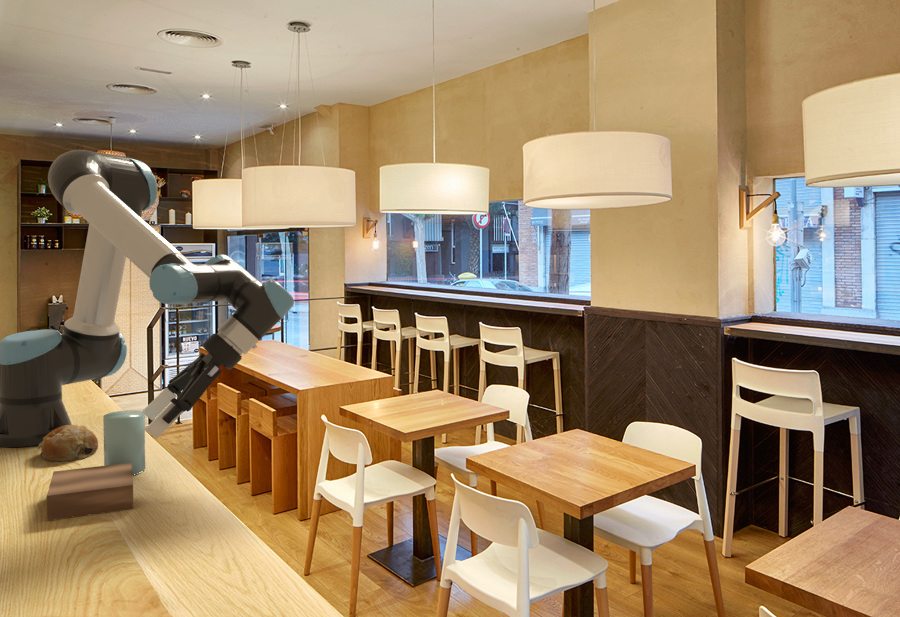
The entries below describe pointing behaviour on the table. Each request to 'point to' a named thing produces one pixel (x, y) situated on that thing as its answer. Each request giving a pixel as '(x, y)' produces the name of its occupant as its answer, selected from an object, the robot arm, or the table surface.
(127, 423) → the dome-topped cylinder
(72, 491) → the pedestal
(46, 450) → the bread roll
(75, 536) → the table surface
